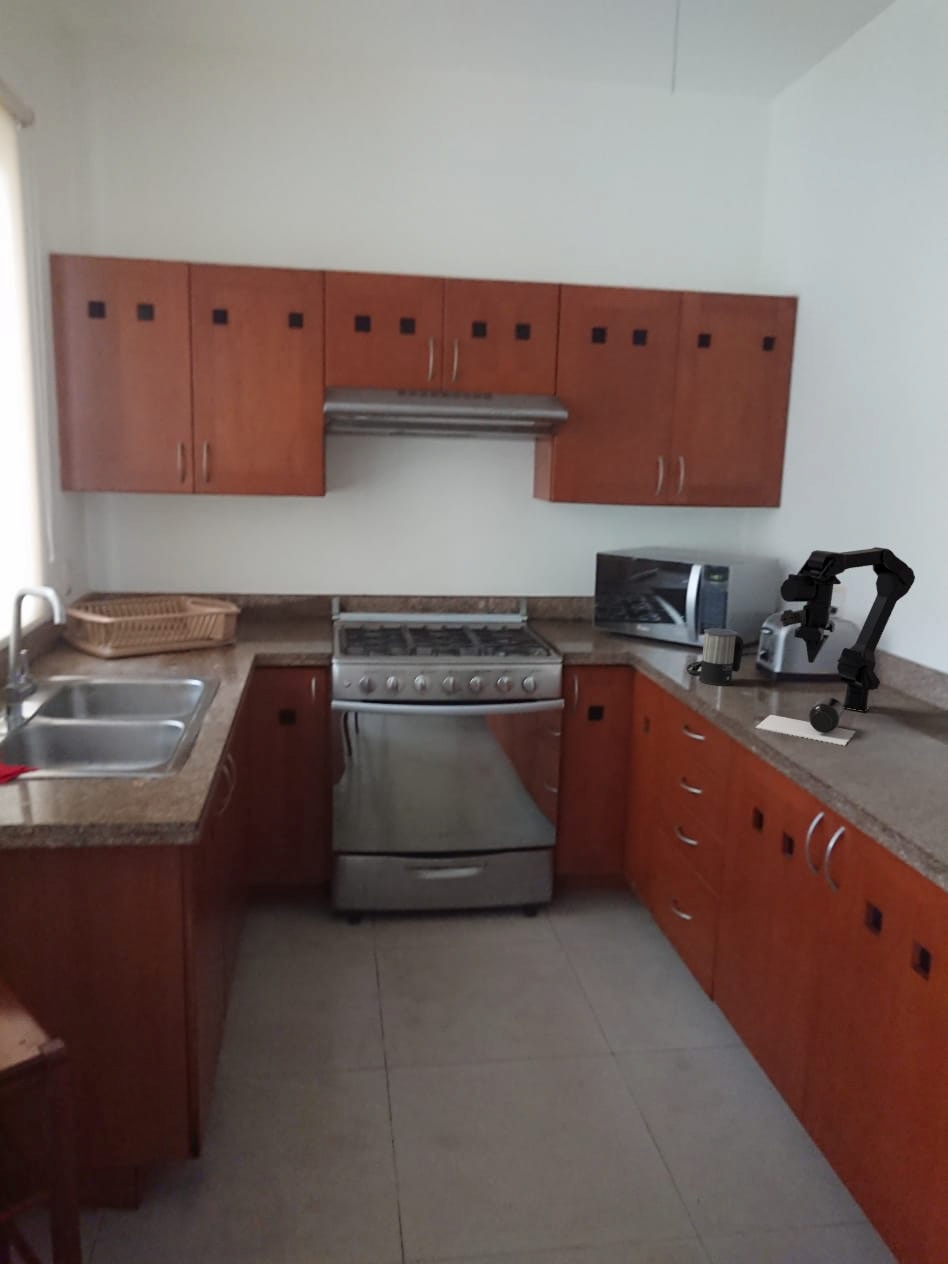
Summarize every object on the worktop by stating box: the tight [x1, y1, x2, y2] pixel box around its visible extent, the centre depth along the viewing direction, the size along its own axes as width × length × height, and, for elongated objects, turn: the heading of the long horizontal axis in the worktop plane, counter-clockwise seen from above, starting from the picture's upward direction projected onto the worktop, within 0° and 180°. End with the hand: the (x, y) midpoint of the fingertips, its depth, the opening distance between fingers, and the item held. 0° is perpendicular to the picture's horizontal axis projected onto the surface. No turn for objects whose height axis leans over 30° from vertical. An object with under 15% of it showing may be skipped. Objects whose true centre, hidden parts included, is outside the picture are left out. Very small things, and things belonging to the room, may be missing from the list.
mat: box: [755, 714, 856, 747], centre depth 218 cm, size 14×20×1 cm
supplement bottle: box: [808, 696, 845, 732], centre depth 218 cm, size 7×7×12 cm
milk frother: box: [686, 627, 744, 686], centre depth 264 cm, size 14×16×15 cm
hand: (810, 662), depth 232 cm, fingers closed
